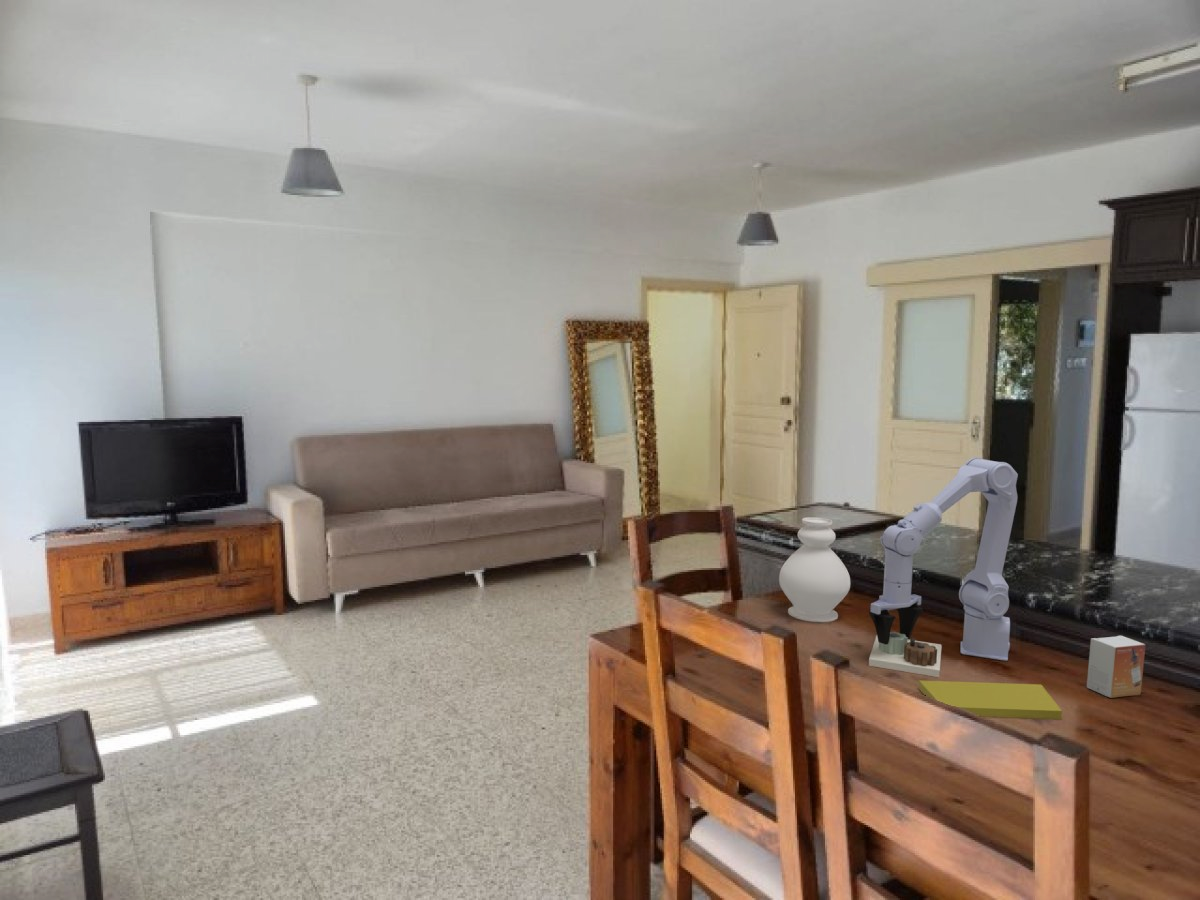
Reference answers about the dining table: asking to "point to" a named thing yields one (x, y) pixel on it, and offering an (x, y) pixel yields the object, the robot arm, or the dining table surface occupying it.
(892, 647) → the sage gear
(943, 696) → the flat olive board
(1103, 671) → the small box
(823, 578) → the decorative vase
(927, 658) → the drive gear
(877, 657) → the gear board
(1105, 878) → the dining table surface
